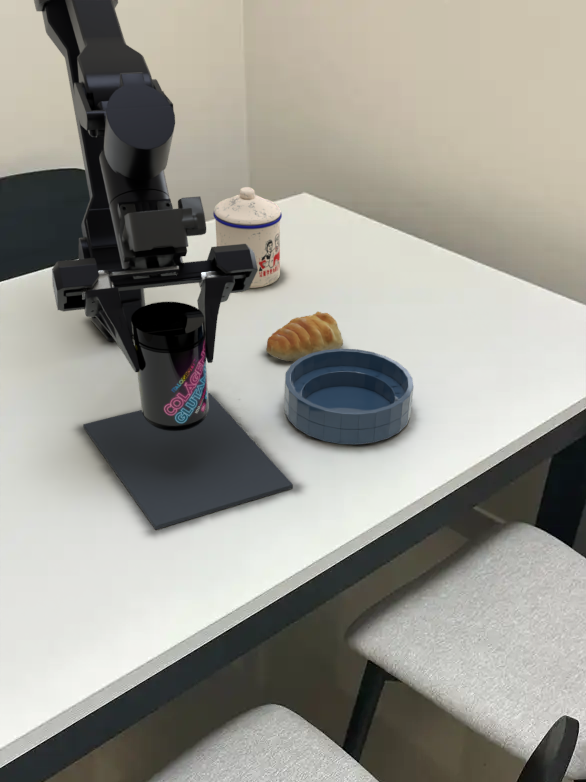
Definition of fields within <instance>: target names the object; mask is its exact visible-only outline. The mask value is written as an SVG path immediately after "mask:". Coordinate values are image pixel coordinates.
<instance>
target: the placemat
mask: <svg viewBox="0 0 586 782" xmlns="http://www.w3.org/2000/svg"><path fill="white" fill-rule="evenodd" d="M208 402H209V411H208V414H207V416H206V418H205V419H204V420H203V421H202V422H201V423H200V424H199V425H197V426H195V427H193V428H190V429H187V430H181V431H168V430H163V429H159V428H157V427H154V426H153V425H151V424H150V423H149V422H148V421H147V420H146V419H145V418H144V416H143V414H142V409H139V410H135V411H131V412H128V413H123V414H119V415H114V416H111V417H106V418H103V419H98V420H95V421H90V422H88V423H87V422H86V423H83V424H82V426H83V429H84V430H85V432H86V433H87V435H88V436H89V438H90V439H91V440H92V442H93V443H94V445H95V446H96V448H97V449H98V451H99V452H100V454H101V455H102V456H103V457H104V459H105V460H106V462H107V463H108V464H109V466H110V467H111V469H112V470H113V472H114V473H115V474H116V476H117V477H118V479H119V480H120V481H121V483H122V484H123V486H124V487H125V488H126V490H127V492H128V493H129V494H130V496H132V499H133V500H134V501H135V502H136V504H137V505H138V507H139V508H140V510H141V511H142V513H143V514H144V515H145V517H146V518H147V520H148V521H149V523H150V524H151V526H152V527H153V528H154V530H159V529H162V528H166V527H169V526H172V525H176V524H179V523H183V522H186V521H188V520H192V519H196V518H199V517H203V516H205V515H208V514H212V513H215V512H218V511H222V510H225V509H228V508H232V507H235V506H238V505H242V504H245V503H248V502H251V501H255V500H258V499H261V498H265V497H268V496H271V495H274V494H275V495H276V494H278V493H281V492H285V491H288V490H291V489H293V488H294V484H293V483H292V482H291V481H290V480H289V478H287V476H286V475H285V474H284V473H283V472H282V471H281V470H280V468H279V467H277V465H276V464H275V463H274V462H273V461H272V460H271V459H270V458H269V456H267V454H265V452H264V451H263V449H261V448H260V447H259V446H258V444H257V443H256V442H255V441H254V440H253V439H252V437H250V436H249V435H248V434H247V432H246V431H245V430H244V429H243V428H242V427H241V426H240V424H238V422H237V421H236V420H235V419H234V418H233V417H232V416H231V414H229V412H227V410H226V409H225V408H224V407H223V406H222V405H221V404H220V403H219V401H218V400H217V399H216V398H215V397H214V396H213V394H211V392H208Z"/></svg>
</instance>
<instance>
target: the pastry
mask: <svg viewBox="0 0 586 782" xmlns="http://www.w3.org/2000/svg"><path fill="white" fill-rule="evenodd" d="M266 342H267V344H266V350H265V351H266V353H268V354H269V355H270V356H272V357H274V358H275V359H279V360H281V361H286V362H287V363H288V362H295V361H297V360H298V359H299V358H301V357H304V356H306V355H308V354H310V353H314V352H318V351H323V350H330V349H341V348H342V347H343V345H344V338H343V336H342V331H341V330H340V328H339V325H338V322H337V320H336V319H335V318H334V317H333V316H332V314H330V313H328V312H322V311H316V312H315V313H313V314H312V315H311V314H309V315H304V316H299V317H297V316H296V317H294V318H292V319H291V320H290V321H289V322H288V323H286V324H284V325H283V326H282V327H280V328H278V329H277V330H276V331H274V332H272V334H271V335H270V336H269V337H268V338H267V341H266Z"/></svg>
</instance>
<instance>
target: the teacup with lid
mask: <svg viewBox="0 0 586 782" xmlns="http://www.w3.org/2000/svg"><path fill="white" fill-rule="evenodd" d="M212 215H213V218H214V219H215V221H214V222H215V239H216V241H215V242H216V246H227V245H237V244H247V245H248V246H249V247H250V248H251V249H252V250H253V252H254V253H255V258H256V263H257V268H258V271H257V273H256V275H255V277H254V279H253V281H252V283H251V285H250V287H249V289H257V288H262V287H266V286H270V285H271V284H274V283H275V282H277V281H278V280H279V278H280V276H281V219H282V217H283V214H282V211H281V208H280V207H279V206H278V204H277V203H275V202H273V201H272V200H270V199H267V198H263V197H262V196H260V195H257V194H256V190H255V189H254V188H252V187H249V186H243V187H241V188H240V189H239V193H238V194H236V195H233V196H232V197H228V198H226V199H225V198H224V199H223V200H220V201H219V202H217V203H216V205H215V206H214V210H213V213H212Z"/></svg>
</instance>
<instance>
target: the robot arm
mask: <svg viewBox="0 0 586 782" xmlns="http://www.w3.org/2000/svg"><path fill="white" fill-rule="evenodd" d="M33 3H34V7H35V10H36V12H41V14H42V19H43V25H44V29H45V33H46V35H47V36H48V38H49V39H50V40H51V42H52V43H53V44H54V46H55V47H56V48H57V50H58V51H59V52H60V54H61V55H62V56H63V57H64V60H65V65H66V72H67V76H68V83H69V88H70V93H71V94H70V95H71V99H72V100H71V101H72V106H73V110H74V116H75V121H76V122H75V123H76V127H77V133H78V138H79V145H80V149H81V155H82V161H83V166H84V167H83V168H84V172H85V178H86V184H87V190H88V195H89V201H88V204H87V207H86V210H85V212H84V215H83V218H82V221H81V225H80V227H81V232H82V237H79V238H78V259H69V260H57V261H56V262H55V264H53V267H52V268H51V276H52V277H51V279H52V290H53V295H54V299H55V303H56V308H57V311H60V312H69V311H70V312H71V311H81V310H84V315H85V317H87V318H90V319H91V322H92V323H93V324H94V326H95V327H96V328H97V329H98V331H99V332H100V334H102V335H103V337H104V338H105V339H106V340H107V341H109V342H114V341H115V343H116V344H117V346H118V347H119V349H120V351H121V352H122V354H123V355H124V357H125V359H126V361H127V362H128V364H129V365H130V367H131V368H132V369H133V371H134V373H137V372H139V371H140V367H139V362H138V356H137V352H136V349H135V346H134V339H133V331H132V322H131V317H132V315H133V313H134V312H135V311H136V310H138V309H139V308H141V307H143V306H146V301H145V300H146V297H145V289H151V288H152V289H153V288H160V287H161V288H162V287H171V286H180V285H188V284H198V285H199V289H200V292H199V295H198V297H197V300H196V301H197V309H199V310H200V311H201V312H202V313H203V315H204V323H205V347H206V363H208V364H211V363H213V362H214V354H215V346H216V345H215V344H216V336H217V326H218V316H219V312H220V308H221V303H225V302H227V301H228V300H229V297H230V296H231V294H236V293H243V292H246V291H248V290H250V288H249V287H250V285H251V283H252V281H253V279H254V277H255V275H256V273H257V271H258V268H257V263H256V258H255V253H254V252H253V250H252V249H251V248H250V247H249V246H248V245H247V244H237V245H227V246H217V245H216V246H211V247H210V251H209V254H208V256H207V259H205V260H198V261H197V260H196V261H186V262H184V260H183V257H187V254H188V247H189V239H188V237H194V236H195V237H196V236H197V237H198V236H203V235H206V233H207V223H206V215H205V210H204V206H203V202H202V198H201V196H190V197H189V196H188V197H181V198H179V199H178V200H177V208H174V206H173V204H172V201H171V198H170V194H169V193H170V192H169V189H168V183H167V179H166V175H165V170H166V168H167V166H168V163H169V156H170V151H171V146H172V141H173V137H174V131H175V127H176V114H175V111H174V103H173V102H172V100H171V99H170V98H169V97H168V95H166V93H165V90H162V88H161V85H160V83H159V81H158V79H156V78H152V75H151V72H150V69H149V67H148V64H147V62H146V59H145V57H144V55H143V54H142V53H140V52H139V51H137V50H136V49H134V48H133V47H131V46H130V45H128V44H127V43H126V40H125V37H124V34H123V31H122V28H121V24H120V21H119V17H118V15H117V11H116V8H117V6H118V4H119V0H33Z"/></svg>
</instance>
